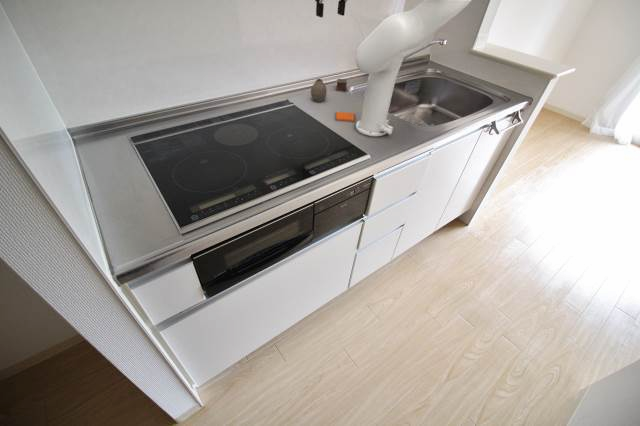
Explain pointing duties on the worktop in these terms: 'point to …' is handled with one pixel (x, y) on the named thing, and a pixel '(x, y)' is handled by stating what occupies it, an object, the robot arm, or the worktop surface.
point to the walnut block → (341, 84)
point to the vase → (318, 91)
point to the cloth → (345, 116)
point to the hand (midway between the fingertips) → (330, 15)
